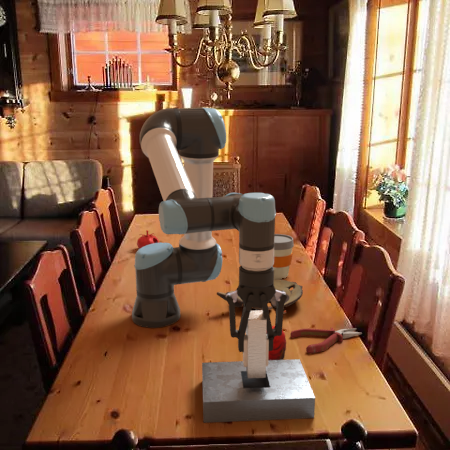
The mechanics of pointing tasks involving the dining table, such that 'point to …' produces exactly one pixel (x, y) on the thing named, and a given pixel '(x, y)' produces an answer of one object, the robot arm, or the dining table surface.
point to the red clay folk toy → (278, 347)
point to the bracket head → (256, 392)
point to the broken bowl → (279, 285)
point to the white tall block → (256, 344)
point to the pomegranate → (146, 240)
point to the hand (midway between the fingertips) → (255, 363)
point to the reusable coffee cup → (282, 255)
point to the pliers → (332, 335)
